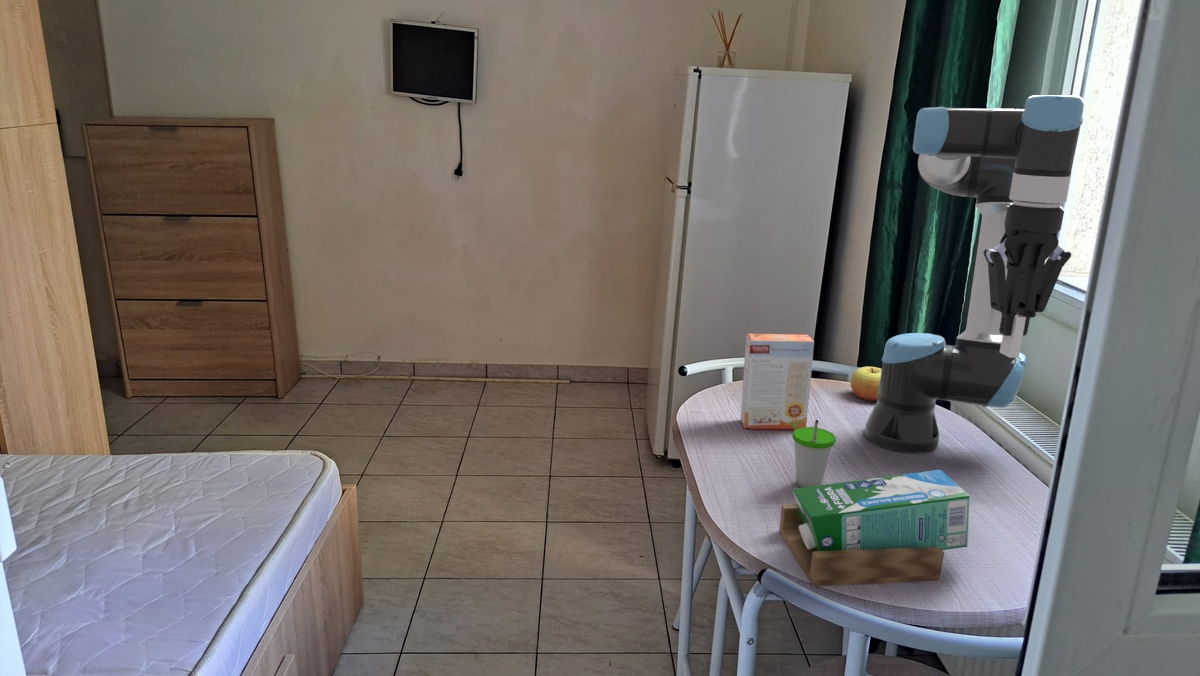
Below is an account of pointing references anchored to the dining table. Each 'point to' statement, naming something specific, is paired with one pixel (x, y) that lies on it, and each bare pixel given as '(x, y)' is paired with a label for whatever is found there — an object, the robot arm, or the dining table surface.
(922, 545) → the milk carton
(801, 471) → the cup
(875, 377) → the apple
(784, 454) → the dining table surface
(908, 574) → the tray
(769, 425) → the cracker box
